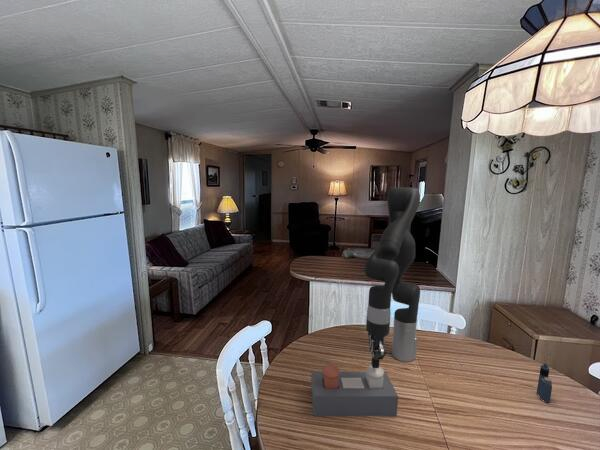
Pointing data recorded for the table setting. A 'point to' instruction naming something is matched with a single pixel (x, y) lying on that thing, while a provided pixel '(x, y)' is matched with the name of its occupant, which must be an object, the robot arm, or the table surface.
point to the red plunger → (330, 376)
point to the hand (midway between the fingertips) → (375, 366)
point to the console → (353, 396)
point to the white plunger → (374, 377)
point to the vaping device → (544, 384)
